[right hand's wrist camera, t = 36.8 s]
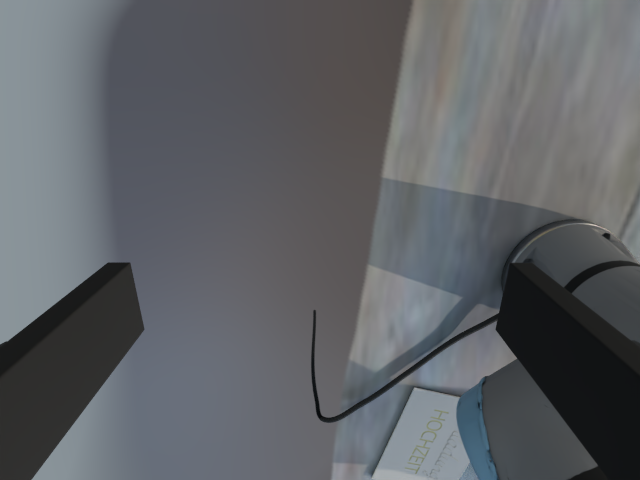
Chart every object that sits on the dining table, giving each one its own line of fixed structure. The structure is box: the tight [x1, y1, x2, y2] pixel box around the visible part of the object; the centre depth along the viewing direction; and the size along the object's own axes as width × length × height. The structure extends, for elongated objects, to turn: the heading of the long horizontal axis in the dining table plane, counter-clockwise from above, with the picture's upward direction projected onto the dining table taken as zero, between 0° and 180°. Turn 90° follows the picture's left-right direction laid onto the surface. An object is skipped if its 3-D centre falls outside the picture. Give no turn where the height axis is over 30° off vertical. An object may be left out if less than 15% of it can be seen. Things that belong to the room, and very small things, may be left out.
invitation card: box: [371, 387, 470, 480], centre depth 61 cm, size 21×1×15 cm
